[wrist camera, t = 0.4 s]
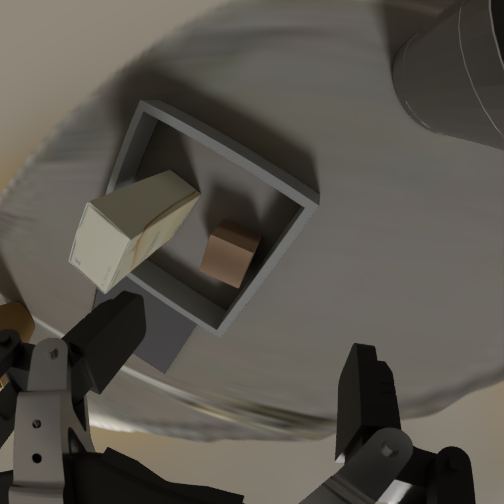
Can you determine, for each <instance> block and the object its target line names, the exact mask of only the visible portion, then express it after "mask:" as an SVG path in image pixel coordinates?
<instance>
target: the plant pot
mask: <svg viewBox="0 0 504 504" xmlns="http://www.w3.org/2000/svg"><path fill="white" fill-rule="evenodd" d="M4 329H14V330H16V331H17V332H18V333H19V335H20V337H21V340H22V342H24V343H29V340H30V338H31V336H32V333H33V331H34V329H35V324H34V321H33V319H32V317H31V315H30V314H29V312H28V311H27V309H26V308H25V307H24V306H23V305H22V304H21V303H19V302H17V301H15V302H11V303H7V304H4V305H1V306H0V331H1V330H4ZM7 381H8V379H7V377H6V375H5V374H4V375H3V376H2V377H1V378H0V388H1V389H3V388H4V386H5V385H6V383H7Z"/></svg>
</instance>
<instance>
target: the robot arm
mask: <svg viewBox="0 0 504 504" xmlns="http://www.w3.org/2000/svg"><path fill="white" fill-rule="evenodd" d="M392 75H393V84H394V88H395V91H396V95H397V97H398V99H399V101H400V103H401V105H402V106H403V108H404V109H405V110H406V112H407V113H408V114H409V115H410V116H411V117H412V118H413V119H414V120H415V121H416V122H417V123H418V124H420V125H421V126H423V127H424V128H426V129H428V130H430V131H432V132H435V133H439V134H442V135H448V136H452V137H456V138H460V139H464V140H468V141H472V142H476V143H480V144H483V145H487V146H491V147H494V148H497V149H501V150H504V0H457V1H455V2H454V3H453V4H452V5H450V6H449V7H448V8H447V9H445V10H444V11H443V12H442V13H441V14H439V15H438V16H437V17H436V18H435V19H433V20H432V21H431V22H430V23H429V24H427V25H426V26H425V27H424V28H423V29H422V30H420V31H419V32H418V33H417V34H415V35H414V36H413V37H412V38H411V39H410V40H409V41H408V42H406V43H405V44H404V45H403V46H402V47H401V49H400V50H399V51H398V53H397V55H396V57H395V60H394V63H393V72H392ZM146 328H147V327H146V317H145V307H144V299H143V296H142V295H140V294H136V293H133V292H129V291H126V290H124V291H122V292H121V293H120V294H118V295H117V296H116V297H115V298H114V299H109V300H107V301H105V302H103V303H100V304H99V305H98V306H97V307H96V308H94V309H93V310H92V312H91V313H89V314H88V315H87V316H86V317H85V319H84V318H83V319H82V320H81V321H80V322H79V323H78V324H77V325H76V326H75V327H73V328H72V329H71V330H70V331H69V332H68V333H67V334H66V335H65V336H64V337H63V338H62V339H59V338H47V339H44V340H42V341H40V342H39V343H38V344H37V345H34V344H29V343H24V342H22V340H21V337H20V335H19V333H18V332H17V331H16V330H14V329H4V330H1V331H0V378H1V377H2V376H3V375H4V374H5V375H6V377H7V379H8V381H9V382H8V383H7V385H6V386H5V387H4V388H3V389H2V390H1V391H0V448H1V447H2V445H3V444H4V443H5V441H6V440H7V439H8V437H9V436H10V434H11V433H12V432H13V430H14V450H13V470H10V471H5V472H0V504H244V503H242V502H243V499H244V496H243V495H239V494H235V493H230V492H227V491H223V490H219V489H215V488H212V487H208V486H198V485H188V484H180V483H172V482H168V481H166V480H164V479H162V478H161V477H160V476H158V475H157V474H155V473H153V472H152V471H151V470H149V469H148V468H147V467H145V466H144V465H142V464H141V463H140V462H138V461H137V460H135V459H132V458H130V457H128V456H126V455H124V454H121V453H119V452H117V451H115V450H113V449H111V448H109V447H107V449H106V450H105V452H104V453H97V452H95V448H94V446H93V443H92V440H91V434H90V426H89V415H88V403H87V396H86V393H87V392H88V391H89V390H91V391H93V392H95V393H97V394H99V395H100V394H101V393H102V391H103V390H104V389H105V387H106V386H107V385H108V384H109V382H110V381H111V380H112V379H113V377H114V376H115V375H116V373H117V372H118V371H119V370H120V368H121V367H122V366H123V365H124V363H125V362H126V361H127V359H128V358H129V357H130V356H131V354H132V353H133V352H134V351H135V349H136V348H137V347H138V346H139V344H140V343H141V342H142V341H143V339H144V337H145V334H146ZM395 394H396V390H395V386H394V379H393V373H392V371H391V370H390V368H389V367H388V365H387V364H386V362H385V361H377V355H376V349H375V346H372V345H365V344H358V343H354V344H353V346H352V348H351V351H350V353H349V356H348V358H347V361H346V363H345V365H344V368H343V370H342V373H341V376H340V379H339V385H338V412H337V435H336V453H335V462H340V463H345V464H344V466H343V467H342V468H341V469H340V470H339V471H338V472H337V473H336V474H334V476H331V477H330V478H328V479H327V480H326V481H325V482H324V483H323V484H321V486H319V487H318V488H317V489H316V490H314V491H313V492H312V493H311V494H310V495H309V496H307V497H306V498H305V499H304V500H303V501H301V502H300V503H299V504H375V503H376V502H377V501H381V502H385V503H388V504H476V503H475V492H474V483H473V475H472V468H471V462H470V459H469V457H468V455H467V454H466V453H465V452H464V451H463V450H462V449H460V448H458V447H453V446H450V447H445V448H443V449H442V450H441V451H440V452H439V453H438V454H435V453H432V452H429V451H425V450H422V449H419V448H416V447H415V446H413V444H412V441H411V439H410V438H409V436H408V435H407V434H406V433H404V432H403V431H402V430H401V424H400V416H399V409H398V403H397V396H396V395H395Z"/></svg>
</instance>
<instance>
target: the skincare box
mask: <svg viewBox="0 0 504 504" xmlns="http://www.w3.org/2000/svg"><path fill="white" fill-rule="evenodd" d="M200 195H201V194H200V193H199V192H198V191H197V190H196V189H194V188H193V187H192V186H191V185H189V184H188V183H187V182H186V181H184V180H183V179H182V178H181V177H179V176H178V175H177V174H175V173H174V172H173V171H172V170H168V171H165V172H162V173H159V174H157V175H154V176H151V177H149V178H146V179H143V180H141V181H138V182H136V183H133V184H131V185H128V186H126V187H123V188H121V189H118V190H116V191H113V192H111V193H109V194H106V195H104V196H102V197H99V198H97V199H94V200H92V201H90V202H88V203H87V204H86V207H85V210H84V212H83V215H82V218H81V221H80V224H79V226H78V229H77V232H76V236H75V239H74V243H73V246H72V250H71V254H70V257H69V262H70V263H71V264H72V265H73V266H74V267H75V268H76V269H77V270H79V272H81V273H82V274H83V275H84V276H85V277H86V278H87V279H88V280H89V281H90V282H91V283H92V284H93V285H95V286H96V287H97V288H98V289H99V290H100V291H101V292H102V293H104V294H106V293H107V292H108V291H109V290H110V289H111V288H112V287H114V286H115V285H116V284H117V283H118V282H119V281H120V280H121V279H123V278H124V277H125V276H126V275H127V274H128V273H130V272H131V271H132V270H133V269H134V268H135V267H137V266H138V265H139V264H140V263H141V262H143V261H144V260H145V259H146V258H147V257H149V256H150V255H151V254H152V253H153V252H155V251H156V250H157V249H158V248H160V247H161V246H162V245H163V244H165V243H166V242H167V241H168V240H170V239H171V238H172V237H173V236H174V234H175V233H176V231H177V230H178V228H179V227H180V226H181V224H182V223H183V221H184V220H185V218H186V217H187V215H188V213H189V212H190V210H191V209H192V207H193V206H194V204H195V203H196V201H197V200H198V198H199V197H200Z"/></svg>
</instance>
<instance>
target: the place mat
mask: <svg viewBox="0 0 504 504" xmlns="http://www.w3.org/2000/svg"><path fill="white" fill-rule="evenodd" d="M124 290H126V291H129V292H133V293H136V294H140V295H142V296H143V299H144V307H145V317H146V327H147V328H146V334H145V337H144V339H143V341H142V342H141V343H140V344H139V346H138V347H137V348H136V349H135V351H134V352H133V353H134V354H135V355H136V356H138V357H139V358H141V359H142V360H144V361H145V362H147V363H148V364H150V365H151V366H153V367H154V368H156V369H158V370H159V371H161V372H162V373H164V374H165V373H166V371H167V370H168V368H169V367H170V365H171V364H172V362H173V361H174V359H175V357H176V356H177V354H178V353H179V351H180V350H181V348H182V347H183V345H184V344H185V342H186V341H187V339H188V337H189V336H190V334H191V333H192V331H193V330H194V328H195V327H196V325H197V324H196V323H195V322H193V321H192V320H190V319H189V318H187V317H185V316H184V315H182V314H181V313H179V312H178V311H176V310H175V309H173V308H172V307H170V306H169V305H167V304H166V303H164V302H163V301H161V300H160V299H158V298H157V297H155V296H154V295H152V294H151V293H150V292H148V291H147V290H145V289H144V288H142V287H141V286H140V285H138V284H137V283H135V282H134V281H133V280H131V279H130V278H128V277H127V276H125V277H124V278H123V279H121V280H120V281H119V282H118V283H117V284H116V285H115V286H114V287H112V288H111V289H110V290H109V291H108V292H107V293H106V294H104V293H102V292H101V291H100V290H99V289H98V290H97V294H96V298H95V303H94V308H96V307H97V306H98V305H99V304H100V303H103V302H105V301H107V300H109V299H114V298H115V297H116V296H117V295H118V294H120V293H121V292H122V291H124ZM94 308H93V309H94Z"/></svg>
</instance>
